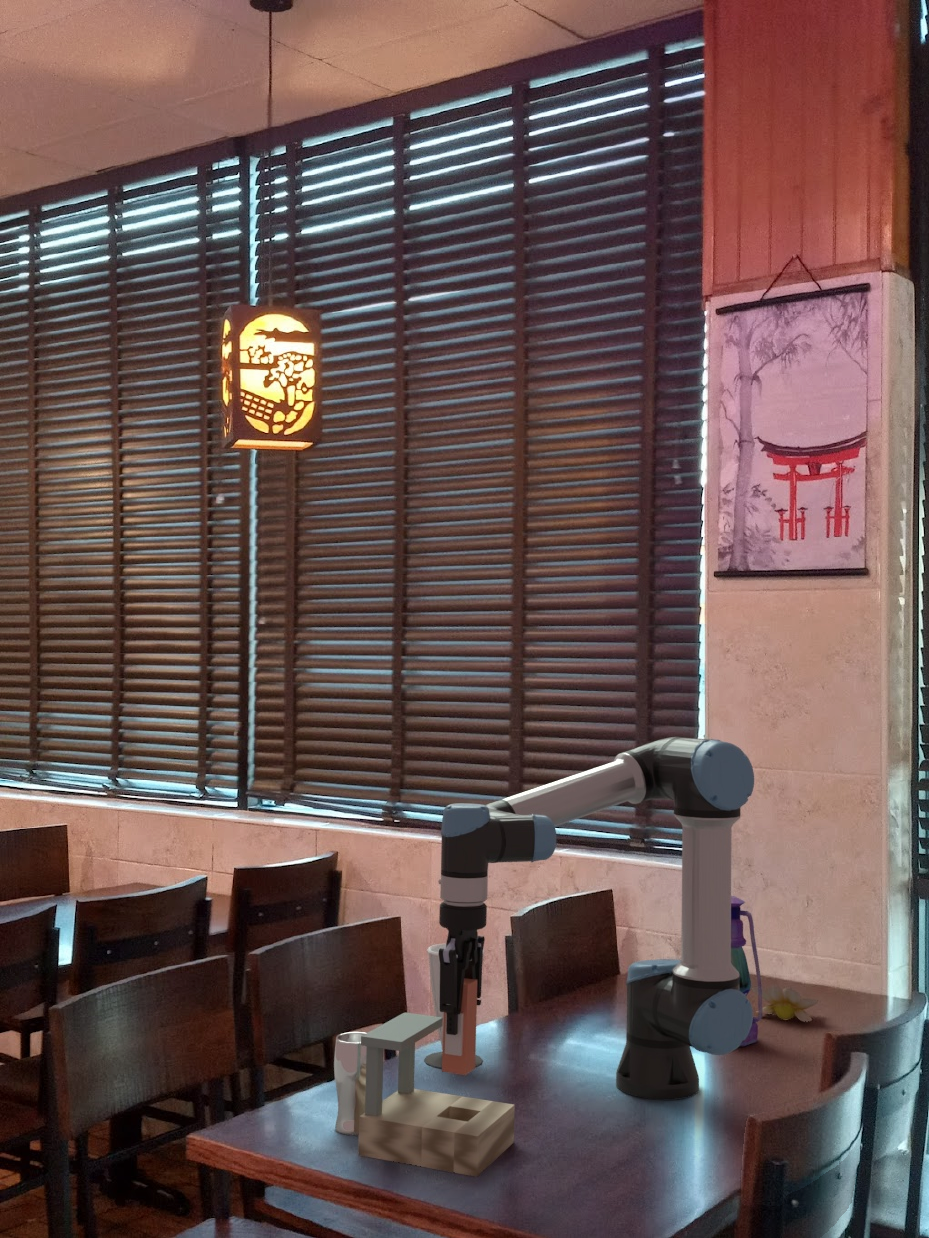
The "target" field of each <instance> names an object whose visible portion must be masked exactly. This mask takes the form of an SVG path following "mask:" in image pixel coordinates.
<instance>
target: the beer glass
mask: <svg viewBox="0 0 929 1238" xmlns="http://www.w3.org/2000/svg"><path fill="white" fill-rule="evenodd" d="M366 1033H367V1032H364V1031H362V1032H361V1031H349V1032H344V1033H340V1034H337V1035H336V1038H335V1048H334V1058H333V1060H334V1061H333V1068H334V1069H333V1071H334V1081H335V1089H336V1095H337V1115H336V1122H335V1128H334V1129H335V1131H336V1132H337V1133H339V1134H341V1135H344V1136H345V1135H346V1136H359V1116H360V1115H362V1114H363V1113H365V1092H366V1050H367V1046H362V1045H361V1036H362V1035H364V1034H366Z"/></svg>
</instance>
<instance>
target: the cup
mask: <svg viewBox="0 0 929 1238" xmlns="http://www.w3.org/2000/svg"><path fill="white" fill-rule="evenodd" d="M440 948H442V949H445V948H446V942H445V943H437V944H433V945H430V946H428V948H427V949H426V952H427V955H428V964H429V974H430V975H429V976H430V977H429V978H430V986H431V994H432V999H433V1000H432V1002H433V1008H434V1009H433V1010H434V1016H435V1017H443V1016H444V1012H440V960H439V949H440ZM485 952H486V950H485V949H484V948H483V955H484V954H485ZM483 960H484V958H483V959H482V965H483V963H484V961H483ZM437 1032H438V1036H439V1041H440V1043H441V1050H442V1051H438V1052H432V1053H430V1054H428V1055H426V1056H425V1058H424V1059H423V1061H424V1062H425V1064H426V1065H428V1066H430V1067H432V1068H437V1069H440V1070H442V1053H443V1026H442V1027H440V1028H438V1029H437ZM483 1062H484V1060H483V1059H482V1057H481V1056H480V1055H477V1054H475V1068H477V1067H479V1066H481V1065H482V1064H483Z"/></svg>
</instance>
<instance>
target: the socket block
mask: <svg viewBox="0 0 929 1238" xmlns="http://www.w3.org/2000/svg"><path fill="white" fill-rule="evenodd" d="M515 1105H516V1104H514V1103H513V1104H512V1103H505V1102H500V1101H494V1100H487V1099H481V1098H474V1097H468V1096H463V1095H462V1096H461V1095H454V1094H449V1093H443V1092H436V1091H431V1090H430V1091H429V1090H424V1089H423V1090H422V1089H419V1088H414V1091H413V1092H412V1093H410V1094H403V1093H398V1090H396V1091H394V1092H393V1093H392V1094H390V1095H389V1096H388V1097H386V1098H385V1099H382V1113H381V1114H380V1115H378V1116H377V1117H375V1116H369V1115H365V1113H363V1114H362V1115H360V1116H359V1135H358V1147H357V1148H358V1149H357V1150H358V1151H357V1152H358V1153H357V1155H358V1156H360V1157H361V1156H362V1157H366V1158H372V1159H377V1160H378V1159H379V1160H383V1161H388V1162H393V1161H394V1162H393V1163H398V1162H400V1164H404V1163H406V1165H409V1164H412V1165H411V1166H415V1165H417V1166H416V1167H420V1166H421V1167H422V1168H426V1169H433V1170H436V1171H442V1170H443V1172H450V1173H453V1172H455V1174H458V1175H459V1174H460V1175H464V1176H470V1175H471V1176H470V1177H475V1178H477V1177H478V1176H479V1175H480V1174H482V1173H483V1172H484V1171H486V1169H487V1168H488V1167H489V1166H490V1165H491V1164H493V1162H494V1161H495V1160H497V1159H498V1157H500V1156H501V1155H502V1154H503V1153H504V1152H506V1150H507V1149H508V1148H510V1147H511V1146H512V1145H513V1144H514V1143H515V1108H516V1106H515ZM483 1170H484V1171H483Z"/></svg>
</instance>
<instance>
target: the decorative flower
mask: <svg viewBox="0 0 929 1238" xmlns="http://www.w3.org/2000/svg"><path fill="white" fill-rule="evenodd" d="M761 988H762V1000H763V1001H765V1002H767V1003H768V1004H769V1005H765V1006H762V1014H765V1013H767V1014H768V1013H772V1014H774V1015H777V1017H778V1018H779V1019H780V1018H781V1019H780V1020H782V1019H790V1020H792V1019H793V1018H794V1017H796V1018H798V1020H800V1021H801V1022H803V1023H809V1022H812V1020H813V1018H812V1017H811V1016H810V1015H809V1014H808V1013H807V1012H806V1011H805V1010H807V1009H809V1008H812V1007H813V1006H816V1005H817V1004H818V1003H819V1002H821V1001H822V1000H821V999H820V1000H819V999H814V998H807V997H803V998H802V996H801V994H800V992H799V991H797V990H794V989H793V988H792V987H790V986H786V987H784V988H783V989H782V988H781V987H780V986H776V985H772V986H770V987H769V988H765V987H763V986H761ZM751 990H752V992H754V993H755V994H756V995H757V996H758V985H756V986H754V987H751V988H750V991H751ZM756 1013H758V1010H756ZM791 1018H792V1019H791ZM805 1021H806V1022H805ZM808 1021H809V1022H808Z"/></svg>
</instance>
